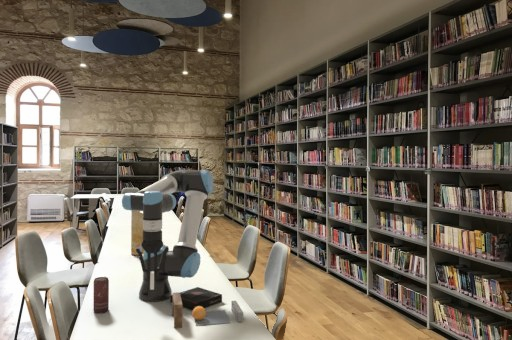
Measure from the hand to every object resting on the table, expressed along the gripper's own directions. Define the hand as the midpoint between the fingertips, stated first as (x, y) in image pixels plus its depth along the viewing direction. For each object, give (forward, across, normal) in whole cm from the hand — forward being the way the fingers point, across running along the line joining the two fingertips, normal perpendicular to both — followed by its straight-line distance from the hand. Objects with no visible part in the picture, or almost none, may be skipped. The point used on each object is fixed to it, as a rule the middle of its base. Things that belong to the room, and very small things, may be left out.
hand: (152, 288), depth 166 cm
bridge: (+14, +10, 0) cm, 17 cm away
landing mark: (+14, +24, 0) cm, 28 cm away
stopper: (+14, +35, 0) cm, 38 cm away
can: (+14, -21, +18) cm, 31 cm away
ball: (+11, +19, -1) cm, 22 cm away
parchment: (+14, -5, +112) cm, 113 cm away
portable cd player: (+15, +20, +20) cm, 32 cm away
